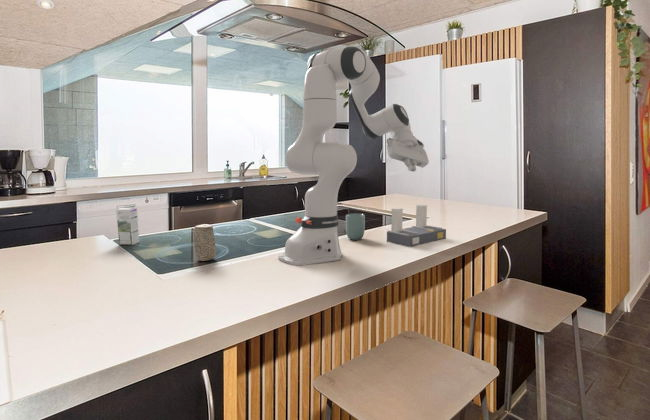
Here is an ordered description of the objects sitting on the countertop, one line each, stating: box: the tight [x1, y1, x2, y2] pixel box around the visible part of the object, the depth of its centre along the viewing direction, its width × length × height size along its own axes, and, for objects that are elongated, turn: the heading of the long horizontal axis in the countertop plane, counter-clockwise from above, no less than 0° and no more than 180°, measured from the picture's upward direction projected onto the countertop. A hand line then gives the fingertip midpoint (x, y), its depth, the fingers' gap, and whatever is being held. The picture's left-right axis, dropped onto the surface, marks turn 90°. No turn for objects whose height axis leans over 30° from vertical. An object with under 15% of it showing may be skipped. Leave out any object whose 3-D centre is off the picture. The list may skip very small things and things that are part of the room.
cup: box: [345, 213, 366, 241], centre depth 175 cm, size 8×8×10 cm
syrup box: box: [115, 206, 140, 246], centre depth 170 cm, size 6×6×14 cm
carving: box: [193, 223, 217, 262], centre depth 144 cm, size 6×8×12 cm
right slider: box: [415, 204, 428, 227], centre depth 178 cm, size 3×3×9 cm
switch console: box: [386, 224, 447, 248], centre depth 172 cm, size 22×12×4 cm, turn 128°
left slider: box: [390, 207, 403, 232], centre depth 169 cm, size 3×3×9 cm
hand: (412, 170), depth 172 cm, fingers closed
